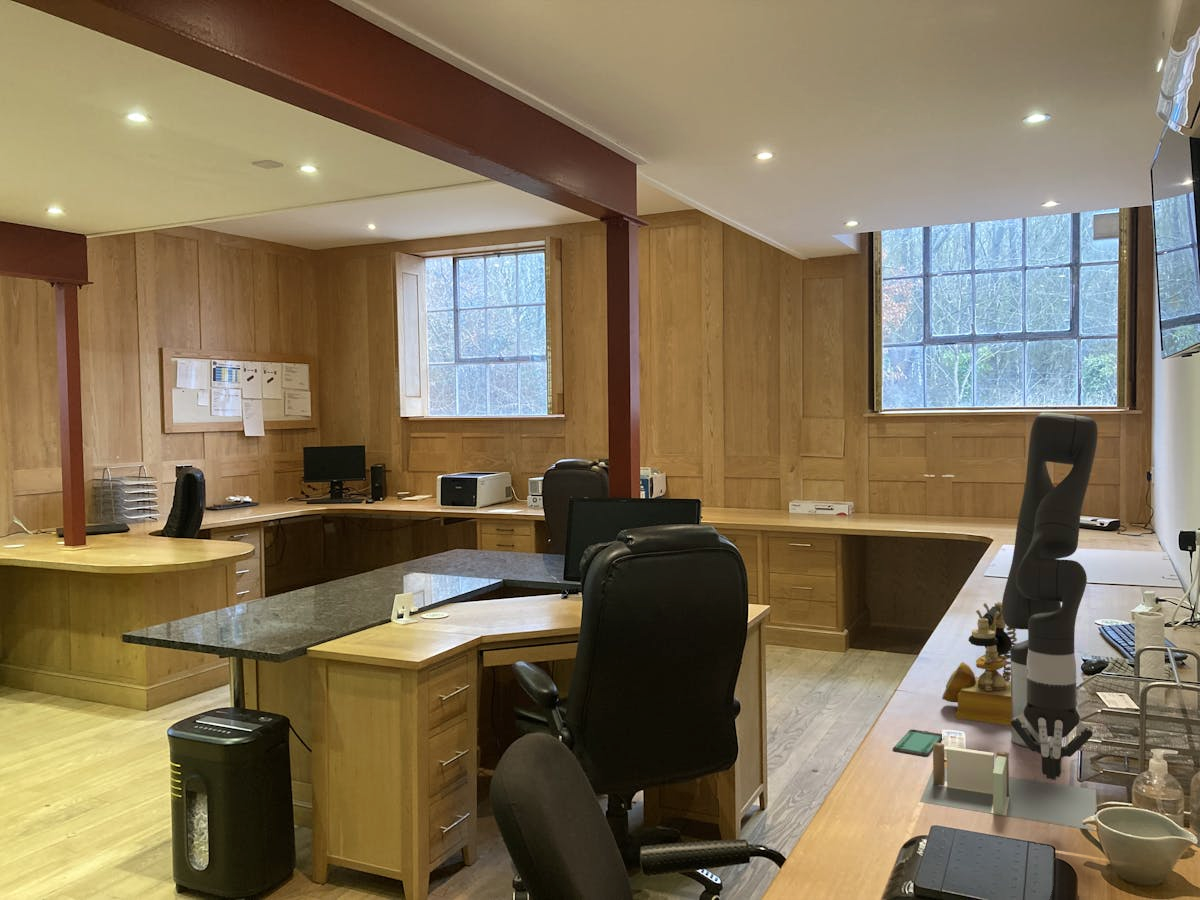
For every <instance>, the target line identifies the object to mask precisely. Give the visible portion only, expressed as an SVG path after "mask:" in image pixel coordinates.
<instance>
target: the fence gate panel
mask: <svg viewBox="0 0 1200 900" xmlns="http://www.w3.org/2000/svg"><path fill="white" fill-rule="evenodd" d="M1006 796H1007V766H1006V757H1002V756H997V755H996V759H995V762H994V771H993V813H999V814H1003V811H1004V806H1005V801H1006Z"/></svg>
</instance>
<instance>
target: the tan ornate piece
mask: <svg viewBox="0 0 1200 900" xmlns="http://www.w3.org/2000/svg"><path fill="white" fill-rule="evenodd" d="M982 606H983V607H984V608H985V609H986V613H984V615H983V616H982V614H981V611H980V609H976V611H975V613H976V614H977V615H978V620H977V629H972V630H971V635H970V636H969V637H968V642H969V644H971V645H974V646H977V647H985V649H986V650H985V653H984V654H983V655H981V656H979V657H978V658H977V660H976V661H975V663H976V665H975V666H976V668H978V669H982V670H984V672H983V673H981V674H980V675H979V677H978V676H975V673H974V672H973V670H972V668H971V667H970V666H969V664H967V663H965V662H963V661H961V662H960V664H959V665H958V667H957V668H956V670H954V671H952V674H950V676H949V679H948V681H947V683H946V685H945V690H944V692H943V694H942V697H941V700H943V701H946V702H948V703H949V702H950V703H957V711H956V712H955V713H954V719H958V720H959V719H961V720H966V721H973V722H974V721H975V722H979V723H988V724H994V725H1001V726H1007V727H1011V666H1008V665H1011V661H1007V660H1011V648H1012V646H1013V645H1015V644H1017V643H1016V642H1017V641H1018V638H1017V637H1016V636H1017V633H1016V631H1017V629H1014V628H1010V627H1009V626H1007V625H1006V624H1005V622H1004V620H1003V616H1002V602H999V601H998V602H994V605H993V606H991V608H989V606H988V604H987V603H986V602H984V603H983V605H982ZM1005 629H1006V631H1007V632H1006V631H1005ZM1009 635H1010V636H1009ZM1000 669H1003V670H1002V672H1003V673H1002V674H1001V673H999V671H998V670H1000Z"/></svg>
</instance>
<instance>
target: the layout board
mask: <svg viewBox="0 0 1200 900" xmlns="http://www.w3.org/2000/svg"><path fill="white" fill-rule="evenodd" d="M919 802H920V803H924V804H925V803H926V804H931V805H937V806H943V807H949V808H955V809H962V810H967V811H973V812H980V813H985V814H991V815H998V816H1003V817H1004V816H1005V817H1009V818H1016V819H1021V820H1028V821H1033V822H1034V821H1035V822H1039V823H1047V824H1052V825H1057V826H1058V825H1059V826H1065V827H1070V828H1076V829H1082V830H1088V831H1095V830H1094V828H1093V827H1091V826H1089V825H1083V824H1082V822H1083V820H1085V819H1086V818H1088V817H1090V816H1093V815H1094V814H1095V812H1096V811H1097V812H1098V809H1097V807H1098V805H1097V789H1095V788H1089V787H1081V786H1074V785H1067V784H1063V783H1062V784H1060V783H1056V782H1055V783H1053V782H1047V781H1042V780H1041V781H1039V780H1034V779H1028V778H1020V777H1012V776H1009V795H1007V796H1006V801H1005V806H1004V811H1003V814H999V813H993V793H990V792H983V791H977V790H971V789H964V788H958V787H951V786H947V766H945V784H944V785H935V784H934V783H933V770H931V773H930V776H929V778H928V780H927V783H926V785H925V788H924V790H923V793H922V794H921V798H920V799H919ZM1095 832H1096V831H1095Z"/></svg>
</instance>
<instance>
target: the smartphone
mask: <svg viewBox="0 0 1200 900" xmlns="http://www.w3.org/2000/svg"><path fill="white" fill-rule="evenodd" d="M942 734H943V733H937V732H932V731H927V730H918V729H909V730H908V731H907V732H906V734H904V736H903V737H902V738H901V739H900V740H899V741H898V742H897V743H896V744H895V745H894V746H893V747H892V751H893V752H895V753H896V752H897V753H901V754H908V755H913V756H920V757H929V756H930V755H931V754H932V753H933V743H941V742H942V741H943V740H942ZM941 740H942V741H941Z"/></svg>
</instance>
